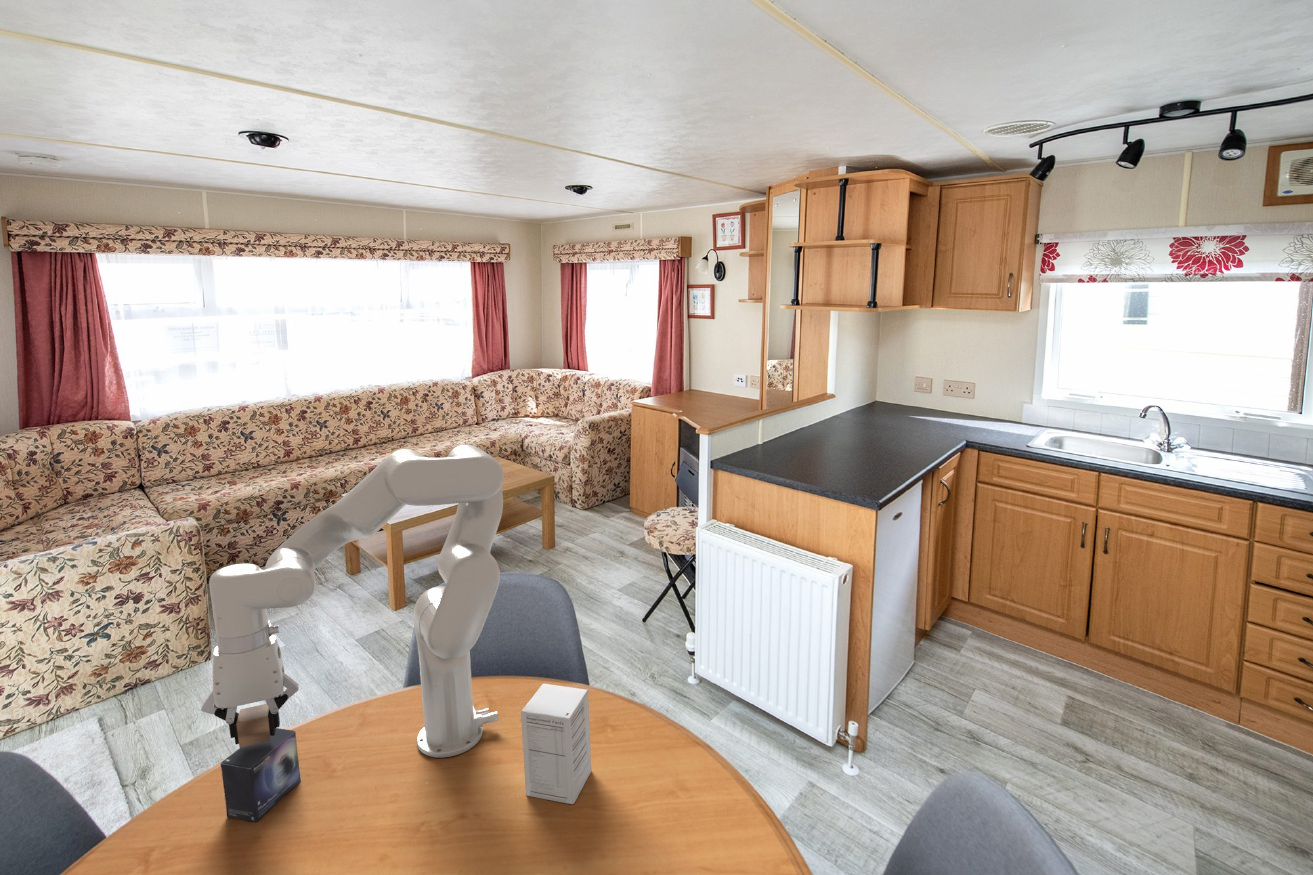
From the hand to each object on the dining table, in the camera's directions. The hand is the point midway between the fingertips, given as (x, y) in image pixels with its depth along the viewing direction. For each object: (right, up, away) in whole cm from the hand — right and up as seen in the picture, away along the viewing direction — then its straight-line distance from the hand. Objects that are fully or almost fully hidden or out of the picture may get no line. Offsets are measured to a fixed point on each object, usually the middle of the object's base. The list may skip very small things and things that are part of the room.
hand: (256, 734), depth 112 cm
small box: (0, -13, +3) cm, 13 cm away
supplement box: (+52, -12, +6) cm, 53 cm away
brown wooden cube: (0, 0, 0) cm, 0 cm away
